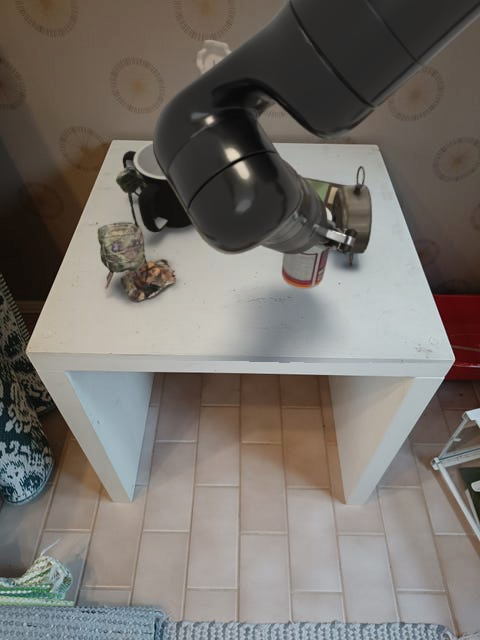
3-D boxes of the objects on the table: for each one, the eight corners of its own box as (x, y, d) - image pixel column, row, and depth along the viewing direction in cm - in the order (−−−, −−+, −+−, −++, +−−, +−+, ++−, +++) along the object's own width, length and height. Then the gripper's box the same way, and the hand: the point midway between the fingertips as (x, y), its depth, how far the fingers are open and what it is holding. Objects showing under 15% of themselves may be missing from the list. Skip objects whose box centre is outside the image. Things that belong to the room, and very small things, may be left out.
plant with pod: (104, 272, 72) (67, 166, 56) (171, 259, 74) (154, 153, 58) (109, 309, 67) (70, 205, 51) (181, 294, 69) (164, 189, 53)
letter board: (364, 192, 86) (366, 186, 85) (358, 220, 80) (360, 215, 79) (258, 172, 89) (258, 166, 88) (246, 198, 84) (246, 192, 83)
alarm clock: (361, 271, 73) (388, 190, 60) (329, 271, 73) (349, 190, 60) (351, 228, 79) (374, 146, 66) (322, 227, 79) (339, 146, 66)
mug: (229, 235, 78) (228, 178, 68) (140, 250, 75) (126, 193, 66) (210, 182, 87) (207, 125, 77) (130, 194, 85) (117, 136, 75)
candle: (189, 169, 90) (179, 67, 74) (206, 135, 98) (201, 35, 82) (222, 174, 89) (219, 71, 73) (237, 139, 97) (237, 39, 81)
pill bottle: (311, 256, 66) (323, 195, 57) (330, 284, 63) (345, 224, 54) (274, 266, 65) (280, 205, 56) (291, 295, 61) (300, 235, 52)
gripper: (367, 198, 41) (373, 223, 56) (233, 158, 45) (274, 191, 61) (337, 273, 42) (351, 277, 58) (210, 227, 46) (256, 242, 62)
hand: (312, 233), depth 59 cm, fingers closed on pill bottle, 6 cm apart
